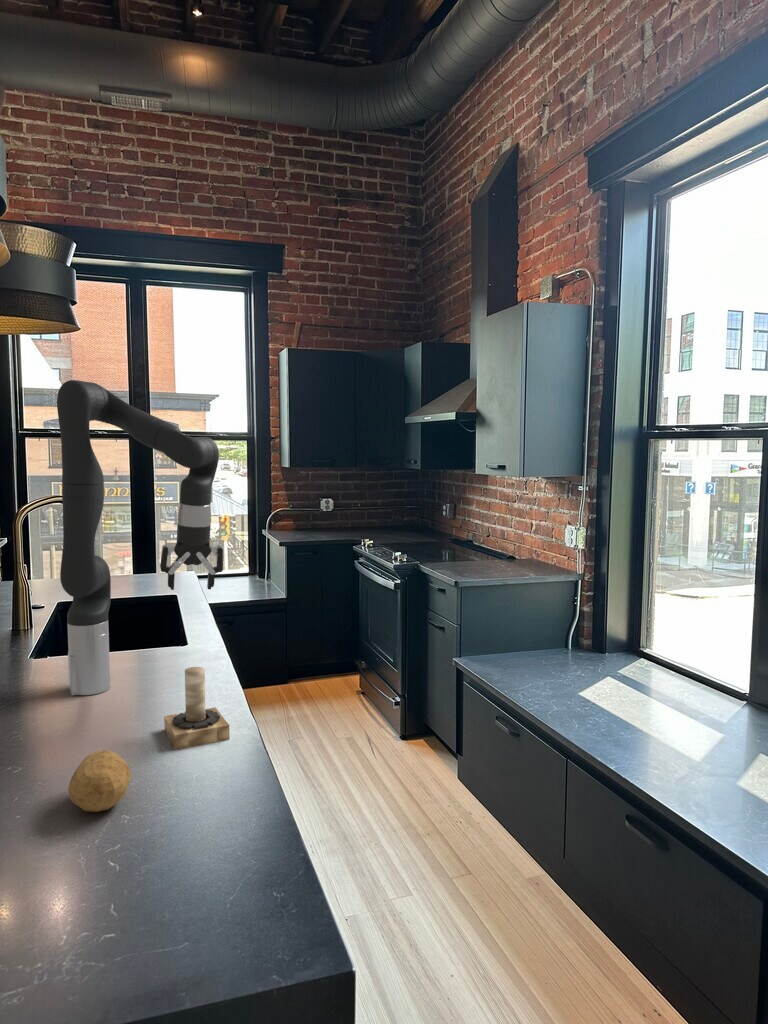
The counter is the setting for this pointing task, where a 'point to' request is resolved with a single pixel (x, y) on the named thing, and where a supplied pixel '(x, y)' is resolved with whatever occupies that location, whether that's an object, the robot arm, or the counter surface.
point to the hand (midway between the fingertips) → (190, 588)
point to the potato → (99, 781)
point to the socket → (196, 729)
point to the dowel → (195, 694)
